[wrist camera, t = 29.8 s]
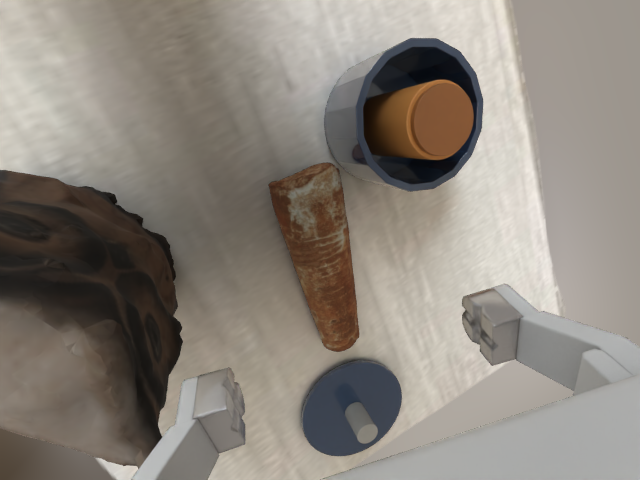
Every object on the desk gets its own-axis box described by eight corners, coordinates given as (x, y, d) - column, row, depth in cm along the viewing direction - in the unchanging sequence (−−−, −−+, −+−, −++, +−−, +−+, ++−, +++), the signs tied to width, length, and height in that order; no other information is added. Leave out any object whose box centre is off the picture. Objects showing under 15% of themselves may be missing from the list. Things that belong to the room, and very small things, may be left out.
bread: (325, 157, 35) (348, 159, 29) (357, 329, 40) (380, 356, 35) (260, 172, 33) (272, 177, 28) (303, 349, 39) (319, 380, 34)
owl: (19, 161, 27) (-346, 203, 9) (196, 184, 32) (193, 244, 13) (20, 316, 30) (-261, 594, 12) (184, 319, 34) (167, 525, 16)
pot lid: (280, 398, 40) (291, 430, 35) (374, 337, 41) (395, 361, 37) (327, 466, 44) (341, 502, 40) (410, 408, 46) (432, 437, 42)
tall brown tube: (346, 110, 34) (399, 100, 25) (397, 83, 34) (464, 64, 26) (370, 166, 36) (425, 174, 27) (416, 139, 36) (485, 138, 28)
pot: (303, 91, 32) (332, 78, 26) (407, 38, 34) (460, 12, 27) (353, 201, 36) (389, 215, 30) (443, 149, 38) (497, 151, 31)
